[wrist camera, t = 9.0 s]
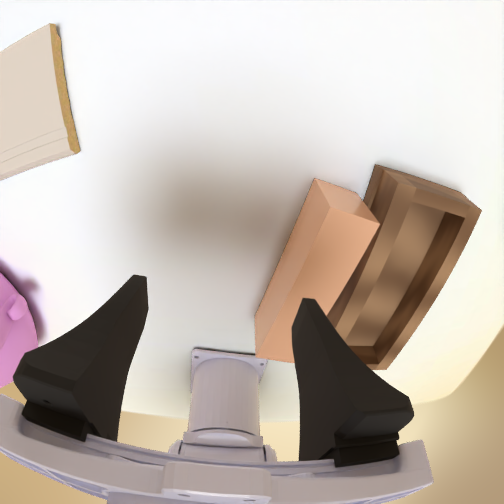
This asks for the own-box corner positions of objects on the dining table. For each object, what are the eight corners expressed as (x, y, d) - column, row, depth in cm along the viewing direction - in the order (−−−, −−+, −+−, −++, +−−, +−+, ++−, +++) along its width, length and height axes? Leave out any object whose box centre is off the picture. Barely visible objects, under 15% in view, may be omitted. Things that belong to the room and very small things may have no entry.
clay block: (289, 321, 29) (294, 363, 25) (254, 314, 28) (255, 357, 24) (356, 192, 21) (380, 223, 17) (313, 177, 21) (330, 206, 17)
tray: (379, 345, 31) (388, 369, 28) (306, 342, 30) (310, 369, 27) (460, 192, 21) (483, 211, 18) (375, 164, 20) (395, 181, 17)
